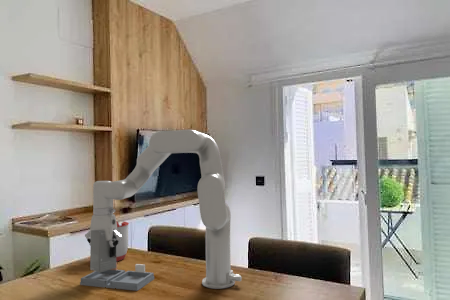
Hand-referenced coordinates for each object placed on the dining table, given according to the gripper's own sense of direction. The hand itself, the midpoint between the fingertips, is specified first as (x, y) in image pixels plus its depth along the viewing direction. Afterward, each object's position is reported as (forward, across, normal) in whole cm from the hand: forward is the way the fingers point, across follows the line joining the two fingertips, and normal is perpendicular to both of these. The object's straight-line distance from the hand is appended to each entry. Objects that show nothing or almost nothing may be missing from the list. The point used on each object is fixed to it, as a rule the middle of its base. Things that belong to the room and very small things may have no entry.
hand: (103, 255), depth 141 cm
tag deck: (+10, -6, 0) cm, 12 cm away
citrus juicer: (+10, +14, -28) cm, 33 cm away
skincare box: (+6, 0, 0) cm, 6 cm away
